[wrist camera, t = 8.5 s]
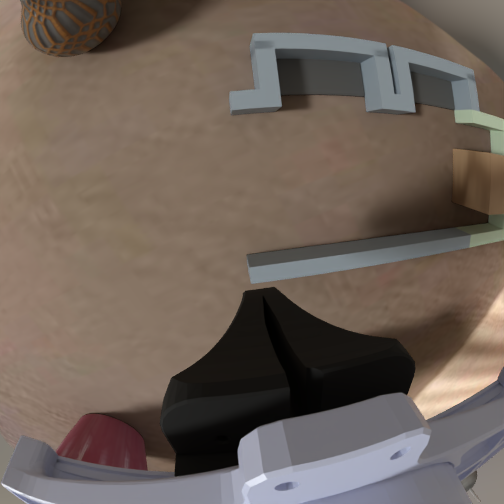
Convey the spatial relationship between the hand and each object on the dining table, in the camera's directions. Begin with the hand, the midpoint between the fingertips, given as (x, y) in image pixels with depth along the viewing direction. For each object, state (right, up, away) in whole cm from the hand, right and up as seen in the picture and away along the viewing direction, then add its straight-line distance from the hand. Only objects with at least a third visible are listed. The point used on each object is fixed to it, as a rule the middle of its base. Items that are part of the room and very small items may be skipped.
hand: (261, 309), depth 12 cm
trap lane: (+12, +10, +8) cm, 18 cm away
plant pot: (-18, -21, +16) cm, 32 cm away
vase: (-13, +20, +2) cm, 24 cm away
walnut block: (+20, +10, +9) cm, 24 cm away
